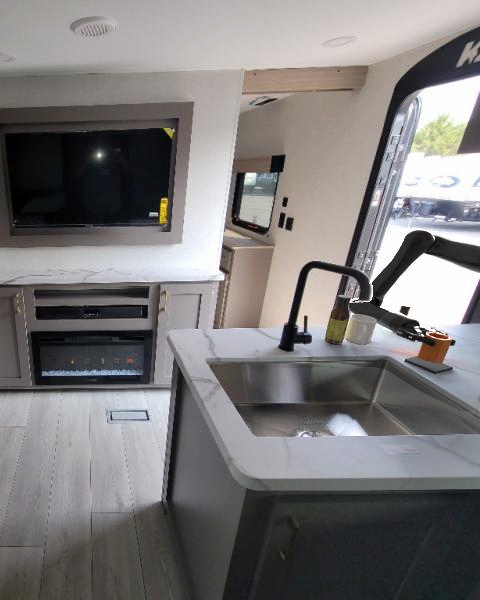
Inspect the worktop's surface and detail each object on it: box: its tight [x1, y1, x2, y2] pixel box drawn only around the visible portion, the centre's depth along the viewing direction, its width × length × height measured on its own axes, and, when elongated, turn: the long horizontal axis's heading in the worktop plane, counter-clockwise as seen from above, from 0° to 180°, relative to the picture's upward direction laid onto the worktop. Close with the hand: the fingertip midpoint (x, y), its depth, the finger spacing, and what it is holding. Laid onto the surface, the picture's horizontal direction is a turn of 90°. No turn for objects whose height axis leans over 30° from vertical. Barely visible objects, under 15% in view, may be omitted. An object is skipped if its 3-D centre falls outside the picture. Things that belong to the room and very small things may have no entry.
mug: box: [344, 313, 377, 346], centre depth 132 cm, size 12×8×10 cm
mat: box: [404, 355, 454, 375], centre depth 117 cm, size 9×9×1 cm
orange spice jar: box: [417, 332, 453, 364], centre depth 115 cm, size 6×6×9 cm
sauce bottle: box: [324, 294, 352, 345], centre depth 132 cm, size 7×6×20 cm
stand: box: [382, 303, 412, 333], centre depth 138 cm, size 7×7×13 cm
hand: (444, 343), depth 112 cm, fingers closed on orange spice jar, 6 cm apart
